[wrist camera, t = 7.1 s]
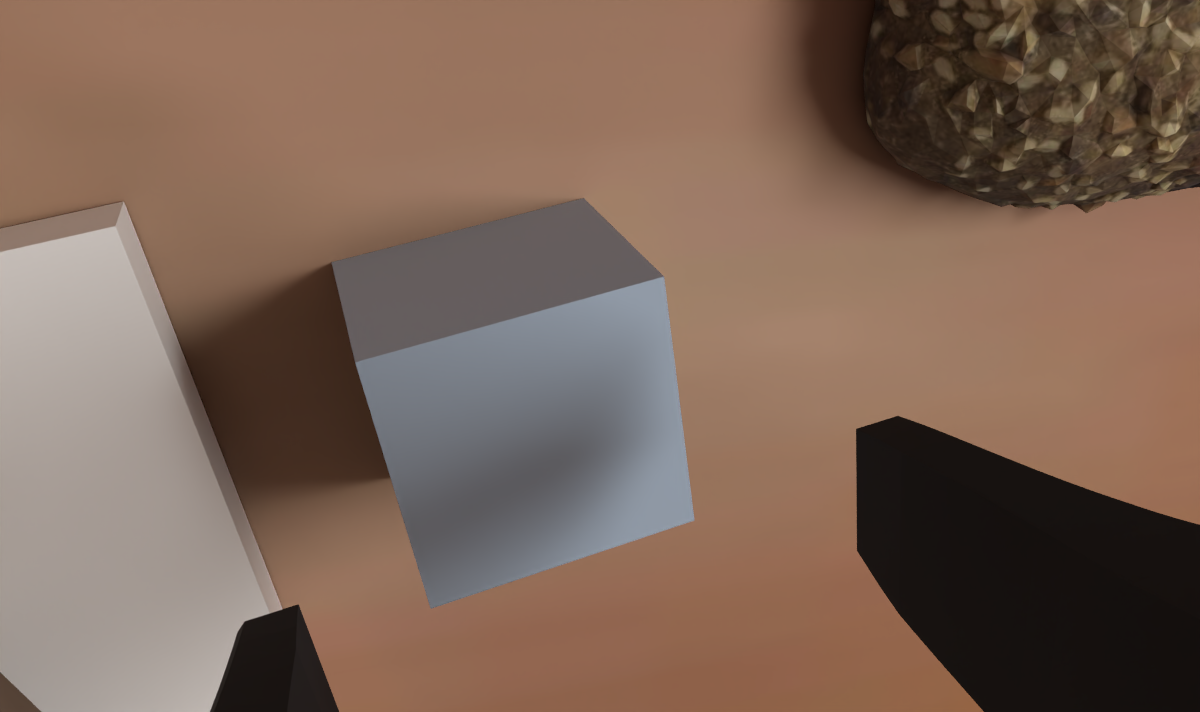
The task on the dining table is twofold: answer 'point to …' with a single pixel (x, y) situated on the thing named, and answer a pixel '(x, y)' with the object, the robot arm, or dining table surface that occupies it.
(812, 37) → the dining table surface
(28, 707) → the walnut block
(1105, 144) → the bread roll
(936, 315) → the dining table surface
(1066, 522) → the robot arm
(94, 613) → the baseplate
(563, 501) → the slate block
